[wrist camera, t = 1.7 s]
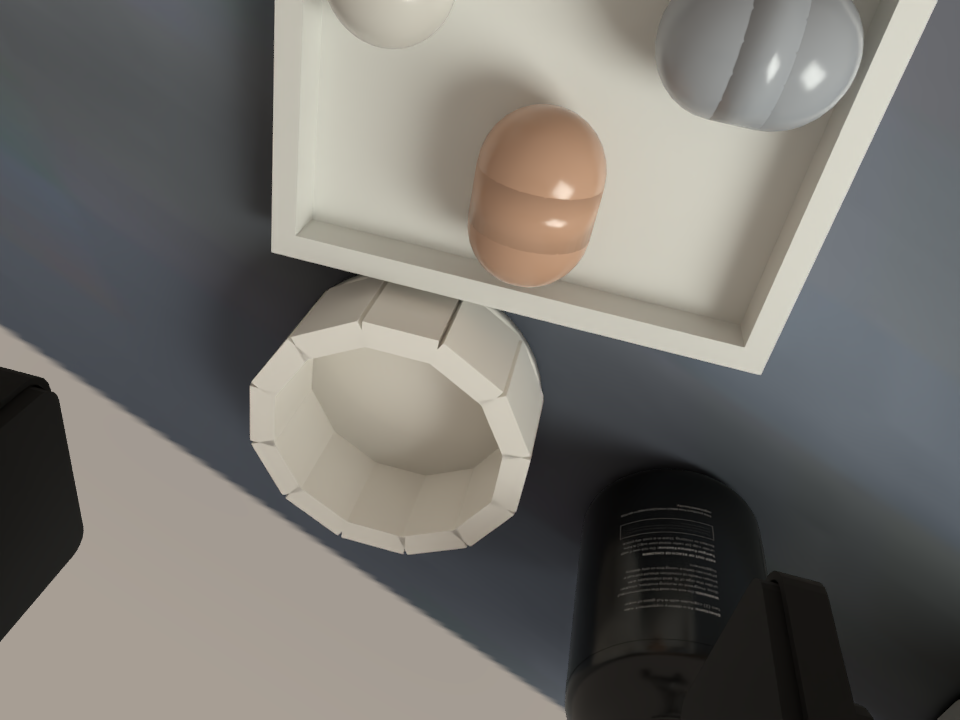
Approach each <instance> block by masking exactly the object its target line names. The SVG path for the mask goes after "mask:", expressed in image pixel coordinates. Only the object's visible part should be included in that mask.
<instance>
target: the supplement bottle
mask: <svg viewBox="0 0 960 720" xmlns="http://www.w3.org/2000/svg"><path fill="white" fill-rule="evenodd" d="M767 576H768V574H767V568H766V562H765V556H764V550H763V546H762V540H761V535H760V530H759V527H758V523H757V520H756V518H755V516H754V514H753V512H752V510H751V509H750V507H749V506H748V505H747V503H746V502H745V501H744V500H743V499H742V498H741V497H740V496H739V495H738V494H737V493H736V492H735V491H733V490H732V489H731V488H729V487H728V486H726V485H725V484H723V483H721V482H720V481H718V480H715V479H713V478H711V477H709V476H706V475H703V474H700V473H696V472H692V471H688V470H681V469H651V470H645V471H641V472H637V473H634V474H631V475H628V476H625V477H623V478H621V479H619V480H617V481H615V482H613V483H612V484H610V485H609V486H607V487H606V488H605V489H604V490H603V491H601V492H600V493H599V494H598V496H597V497H596V498H595V499H594V500H593V502H592V503H591V505H590V507H589V508H588V510H587V513H586V515H585V519H584V523H583V528H582V537H581V544H580V553H579V563H578V573H577V583H576V593H575V603H574V613H573V623H572V632H571V642H570V652H569V662H568V672H567V682H566V696H565V711H566V717H567V720H681V711H682V706H683V702H684V699H685V696H686V694H687V692H688V690H689V689H690V687H691V685H692V683H693V682H694V680H695V678H696V676H697V675H698V673H699V671H700V670H701V668H702V666H703V664H704V663H705V661H706V659H707V657H708V656H709V654H710V652H711V650H712V649H713V647H714V645H715V643H716V642H717V640H718V638H719V636H720V635H721V633H722V631H723V629H724V628H725V626H726V624H727V623H728V621H729V619H730V617H731V616H732V614H733V612H734V610H735V609H736V607H737V605H738V603H739V602H740V600H741V598H742V596H743V595H744V593H745V591H746V589H747V588H748V586H749V584H750V583H751V581H752V580H753V579H755V578H758V579H762V580H765V579H766V578H767Z"/></svg>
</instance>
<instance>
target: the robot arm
mask: <svg viewBox="0 0 960 720" xmlns="http://www.w3.org/2000/svg"><path fill="white" fill-rule="evenodd" d="M82 537H83V523H82V518H81V512H80V507H79V502H78V497H77V491H76V486H75V481H74V476H73V471H72V465H71V460H70V455H69V450H68V444H67V439H66V434H65V429H64V424H63V419H62V413H61V408H60V403H59V399H58V396H57V395H56V394H55V393H54V392H51V389H50V387H49V384H48V382H47V381H46V380H45V379H44V378H41V377H37V376H33V375H30V374H26V373H22V372H18V371H14V370H11V369H7V368H3V367H0V641H1V640H2V639H3V638H4V636H5V635H6V634H7V633H8V632H9V631H10V629H11V628H12V627H13V626H14V625H15V623H16V622H17V621H18V620H19V619H20V618H21V616H22V615H23V614H24V613H25V612H26V611H27V609H28V608H29V607H30V606H31V605H32V604H33V602H34V601H35V600H36V599H37V598H38V596H39V595H40V594H41V593H42V592H43V591H44V589H45V588H46V587H47V586H48V584H49V583H50V582H51V581H52V580H53V579H54V577H55V576H56V575H57V574H58V573H59V572H60V570H61V569H62V568H63V567H64V566H65V564H66V563H67V562H68V561H69V560H70V559H71V558H72V556H73V555H74V554H75V552H76V551H77V549H78V547H79V545H80V543H81V540H82ZM681 720H874V719H873V717H872V716H871V715H870V713H869V712H868V710H867V709H866V708H864V707H862V706H860V705H859V704H855V703H854V702H853V698H852V693H851V689H850V685H849V681H848V677H847V673H846V669H845V665H844V661H843V656H842V652H841V648H840V644H839V640H838V636H837V632H836V628H835V623H834V619H833V615H832V611H831V607H830V603H829V599H828V595H827V592H826V589H825V587H824V586H823V585H822V584H821V583H819V582H815V581H812V580H808V579H804V578H800V577H796V576H793V575H789V574H785V573H781V572H777V571H773V572H771V573H770V574H769V575H768V576H767V578H766V579H765V580H762V579H758V578H755V579H753V580H752V581H751V583H750V584H749V586H748V588H747V589H746V591H745V593H744V595H743V596H742V598H741V600H740V602H739V603H738V605H737V607H736V609H735V610H734V612H733V614H732V616H731V617H730V619H729V621H728V623H727V624H726V626H725V628H724V629H723V631H722V633H721V635H720V636H719V638H718V640H717V642H716V643H715V645H714V647H713V649H712V650H711V652H710V654H709V656H708V657H707V659H706V661H705V663H704V664H703V666H702V668H701V670H700V671H699V673H698V675H697V676H696V678H695V680H694V682H693V683H692V685H691V687H690V689H689V690H688V692H687V694H686V696H685V699H684V702H683V706H682V711H681ZM937 720H960V699H959V700H957V701H956V702H955V703H954V704H953V705H952V706H950V707H949V708H948V709H947V710H946V711H945V712H944V713H943V714H942V715H941V716H940V717H939V718H938V719H937Z"/></svg>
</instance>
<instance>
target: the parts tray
mask: <svg viewBox="0 0 960 720" xmlns="http://www.w3.org/2000/svg"><path fill="white" fill-rule="evenodd" d="M852 1H853V3H854V4H855V6H856V8H857V10H858V11H859V15H860V18H861V22H862V25H863V34H864V49H863V55H862V59H861V62H860V66H859V69H858V72H857V74H856V76H855V78H854V80H853V82H852V84H851V86H850V88H849V89H848V91H847V92H846V94H845V95H844V96H843V97H842V98H841V99H840V100H839V101H838V102H837V104H836V105H835V106H834V107H833V108H832V109H830V110H829V111H828V112H826V113H825V114H824V115H822V116H821V117H820V118H818V119H817V120H815V121H813V122H811V123H809V124H806V125H804V126H802V127H799V128H795V129H792V130H788V131H777V132H764V131H756V130H751V129H746V128H742V127H738V126H733V125H729V124H725V123H720V122H716V121H711V120H707V119H704V118H701V117H698V116H695V115H693V114H691V113H690V112H688V111H686V110H685V109H683V108H681V107H680V106H679V105H678V104H677V103H676V102H675V101H674V100H673V99H672V98H671V97H670V95H669V94H668V92H667V91H666V89H665V88H664V86H663V84H662V82H661V79H660V77H659V74H658V71H657V66H656V61H655V39H656V34H657V29H658V25H659V22H660V20H661V17H662V14H663V12H664V10H665V8H666V7H667V5H668V3H669V2H670V0H455V1H454V4H453V7H452V9H451V11H450V14H449V16H448V17H447V19H446V20H445V22H444V23H443V24H442V26H441V27H440V28H439V29H438V30H437V31H436V32H435V33H434V34H433V35H432V36H431V37H429V38H428V39H426V40H425V41H423V42H421V43H419V44H417V45H414V46H411V47H408V48H402V49H386V48H379V47H376V46H373V45H370V44H368V43H366V42H364V41H362V40H360V39H359V38H357V37H356V36H354V35H353V34H352V33H351V32H349V31H348V30H347V29H346V28H345V27H344V26H343V25H342V23H341V22H340V21H339V20H338V18H337V17H336V15H335V14H334V12H333V10H332V8H331V6H330V4H329V2H328V0H275V27H274V96H273V166H272V235H271V252H273V253H277V254H281V255H285V256H288V257H292V258H296V259H300V260H304V261H308V262H312V263H316V264H320V265H324V266H328V267H332V268H336V269H340V270H344V271H348V272H352V273H356V274H360V275H364V276H368V277H372V278H376V279H380V280H384V281H388V282H392V283H396V284H400V285H404V286H408V287H412V288H416V289H420V290H424V291H428V292H432V293H436V294H440V295H444V296H448V297H452V298H456V299H459V300H463V301H467V302H471V303H475V304H479V305H483V306H487V307H491V308H495V309H499V310H503V311H507V312H511V313H515V314H519V315H523V316H527V317H531V318H535V319H539V320H543V321H547V322H551V323H555V324H559V325H563V326H567V327H571V328H575V329H579V330H583V331H587V332H591V333H595V334H599V335H603V336H607V337H611V338H615V339H619V340H623V341H627V342H630V343H634V344H638V345H642V346H646V347H650V348H654V349H658V350H662V351H666V352H670V353H674V354H678V355H682V356H686V357H690V358H694V359H698V360H702V361H706V362H710V363H714V364H718V365H722V366H726V367H730V368H734V369H738V370H742V371H746V372H750V373H754V374H758V375H761V374H762V372H763V369H764V367H765V365H766V363H767V361H768V359H769V357H770V355H771V352H772V350H773V348H774V346H775V344H776V342H777V340H778V338H779V335H780V333H781V331H782V329H783V327H784V325H785V323H786V321H787V319H788V316H789V314H790V312H791V310H792V308H793V306H794V304H795V302H796V299H797V297H798V295H799V293H800V291H801V289H802V287H803V285H804V283H805V280H806V278H807V276H808V274H809V272H810V270H811V268H812V266H813V263H814V261H815V259H816V257H817V255H818V253H819V251H820V249H821V246H822V244H823V242H824V240H825V238H826V236H827V234H828V232H829V230H830V227H831V225H832V223H833V221H834V219H835V217H836V215H837V213H838V210H839V208H840V206H841V204H842V202H843V200H844V198H845V196H846V194H847V191H848V189H849V187H850V185H851V183H852V181H853V179H854V177H855V174H856V172H857V170H858V168H859V166H860V164H861V162H862V160H863V157H864V155H865V153H866V151H867V149H868V147H869V145H870V143H871V141H872V138H873V136H874V134H875V132H876V130H877V128H878V126H879V124H880V121H881V119H882V117H883V115H884V113H885V111H886V109H887V107H888V104H889V102H890V100H891V98H892V96H893V94H894V92H895V90H896V88H897V85H898V83H899V81H900V79H901V77H902V75H903V73H904V71H905V68H906V66H907V64H908V62H909V60H910V58H911V56H912V54H913V52H914V49H915V47H916V45H917V43H918V41H919V39H920V37H921V35H922V32H923V30H924V28H925V26H926V24H927V22H928V20H929V18H930V15H931V13H932V11H933V9H934V7H935V5H936V3H937V1H938V0H852ZM533 104H553V105H558V106H561V107H564V108H567V109H569V110H571V111H574V112H575V113H577V114H578V115H579V116H581V117H582V118H583V119H585V120H586V121H587V122H588V123H589V124H590V126H591V127H592V128H593V129H594V131H595V132H596V133H597V135H598V137H599V139H600V141H601V143H602V145H603V148H604V152H605V157H606V165H607V177H606V183H605V188H604V192H603V195H602V199H601V202H600V206H599V210H598V213H597V217H596V220H595V224H594V228H593V231H592V235H591V238H590V242H589V244H588V246H587V249H586V251H585V254H584V256H583V257H582V259H581V260H580V262H579V263H578V264H577V265H576V266H575V267H574V268H573V269H572V270H571V271H570V272H569V273H568V274H567V275H566V276H564V277H562V278H561V279H559V280H557V281H555V282H553V283H551V284H547V285H544V286H540V287H519V286H514V285H511V284H507V283H505V282H502V281H500V280H499V279H497V278H495V277H494V276H492V275H491V274H490V273H489V272H488V271H487V270H485V268H484V267H483V266H482V265H481V264H480V262H479V261H478V259H477V258H476V256H475V255H474V253H473V250H472V248H471V245H470V243H469V237H468V230H467V218H468V210H469V204H470V198H471V193H472V187H473V181H474V175H475V170H476V164H477V159H478V156H479V153H480V149H481V146H482V144H483V142H484V140H485V138H486V136H487V134H488V133H489V132H490V130H491V129H492V128H493V127H494V125H495V124H496V123H497V122H498V121H500V120H501V119H502V118H503V117H505V116H506V115H507V114H509V113H511V112H513V111H515V110H516V109H518V108H521V107H524V106H529V105H533Z"/></svg>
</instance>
